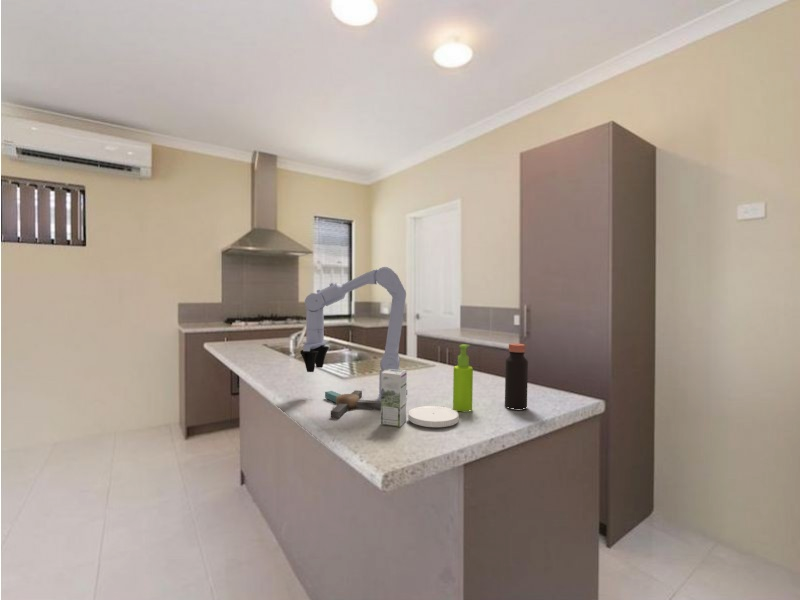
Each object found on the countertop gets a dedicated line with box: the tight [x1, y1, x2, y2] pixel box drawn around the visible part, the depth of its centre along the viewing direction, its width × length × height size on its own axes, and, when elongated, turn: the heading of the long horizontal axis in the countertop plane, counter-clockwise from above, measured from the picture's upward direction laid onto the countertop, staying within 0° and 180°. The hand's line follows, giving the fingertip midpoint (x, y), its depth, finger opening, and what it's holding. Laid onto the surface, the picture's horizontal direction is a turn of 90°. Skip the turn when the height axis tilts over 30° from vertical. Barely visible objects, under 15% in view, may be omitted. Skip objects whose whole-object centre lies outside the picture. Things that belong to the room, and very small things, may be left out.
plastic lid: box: [407, 405, 460, 428], centre depth 111 cm, size 14×14×2 cm
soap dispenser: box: [452, 343, 474, 412], centre depth 122 cm, size 6×7×20 cm
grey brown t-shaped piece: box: [330, 390, 381, 420], centre depth 123 cm, size 16×24×3 cm, turn 170°
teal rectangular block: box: [324, 390, 342, 403], centre depth 129 cm, size 8×2×2 cm, turn 40°
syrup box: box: [380, 369, 408, 428], centre depth 108 cm, size 6×6×14 cm
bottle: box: [504, 343, 529, 409], centre depth 124 cm, size 7×7×20 cm
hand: (315, 369), depth 132 cm, fingers open, 7 cm apart
